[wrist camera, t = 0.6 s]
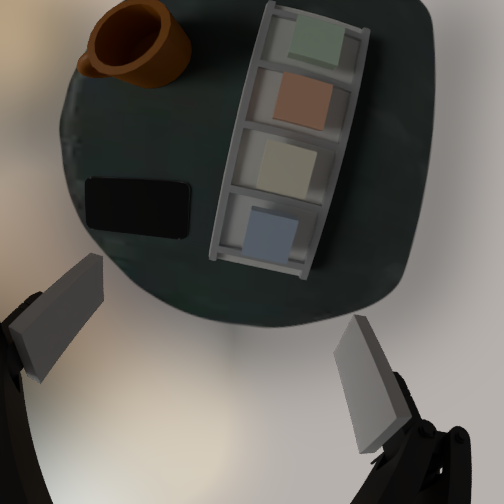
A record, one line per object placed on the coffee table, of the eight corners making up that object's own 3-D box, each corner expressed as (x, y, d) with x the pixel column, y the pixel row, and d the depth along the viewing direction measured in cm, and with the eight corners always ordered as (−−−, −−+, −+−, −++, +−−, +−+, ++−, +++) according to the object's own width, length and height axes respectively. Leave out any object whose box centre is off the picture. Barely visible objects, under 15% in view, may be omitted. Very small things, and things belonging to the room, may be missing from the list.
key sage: (296, 21, 21) (298, 14, 19) (340, 34, 21) (345, 28, 19) (287, 57, 23) (288, 51, 21) (332, 70, 23) (337, 65, 21)
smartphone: (186, 240, 34) (86, 229, 34) (188, 239, 35) (88, 227, 34) (190, 182, 31) (84, 176, 31) (191, 181, 32) (87, 176, 32)
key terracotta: (282, 75, 24) (284, 71, 22) (328, 88, 24) (333, 85, 22) (272, 119, 25) (272, 117, 24) (318, 131, 26) (322, 130, 24)
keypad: (266, 9, 23) (266, 0, 20) (364, 37, 24) (372, 30, 21) (211, 249, 35) (207, 259, 32) (304, 270, 35) (307, 280, 33)
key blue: (251, 205, 29) (251, 209, 27) (296, 215, 29) (298, 221, 27) (242, 247, 31) (241, 254, 29) (284, 256, 31) (286, 264, 29)
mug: (106, 39, 24) (69, 19, 16) (194, 21, 24) (174, -12, 16) (101, 99, 27) (58, 91, 19) (190, 85, 27) (167, 65, 19)
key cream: (267, 139, 26) (267, 139, 24) (313, 151, 26) (317, 152, 25) (256, 185, 28) (256, 188, 26) (301, 195, 28) (304, 199, 26)
